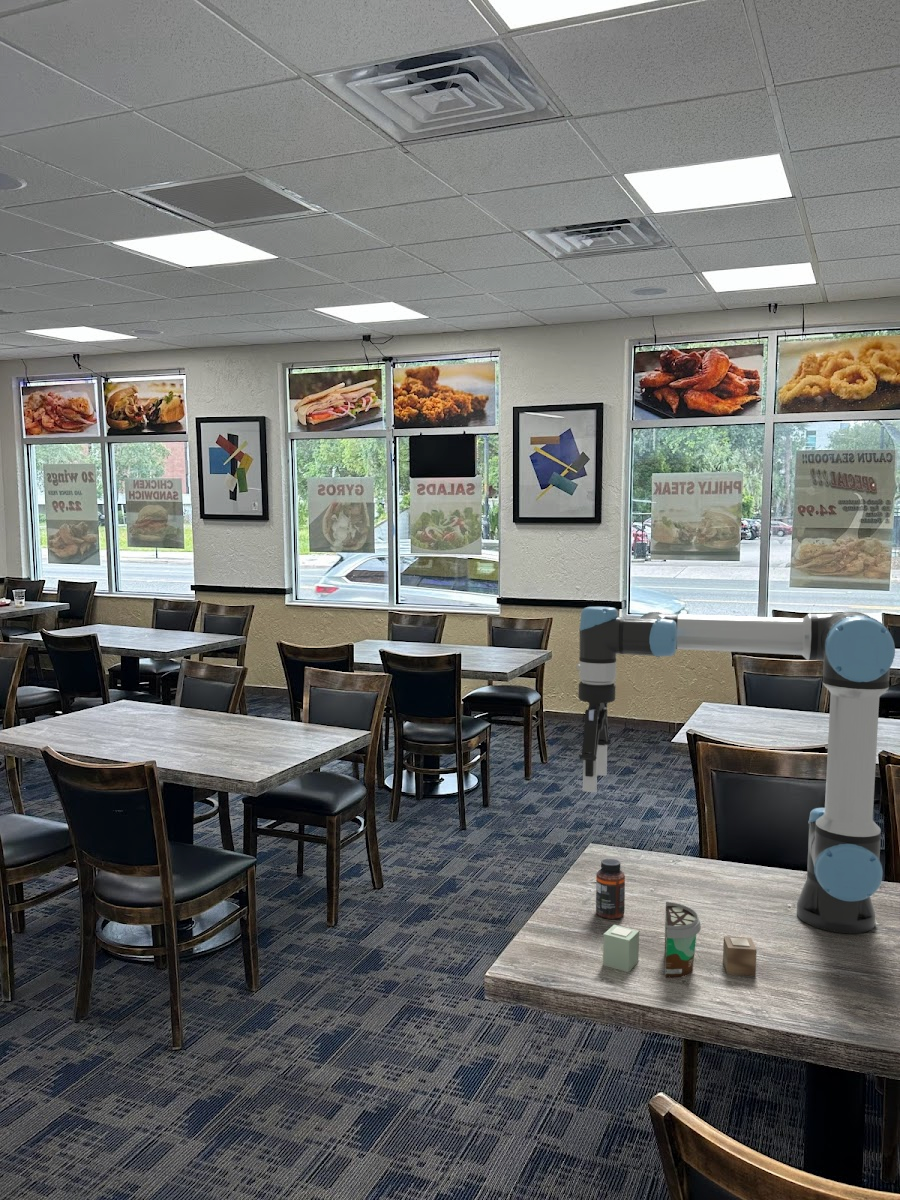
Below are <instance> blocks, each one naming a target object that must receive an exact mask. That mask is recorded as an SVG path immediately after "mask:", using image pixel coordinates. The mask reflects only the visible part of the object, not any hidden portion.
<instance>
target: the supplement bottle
mask: <svg viewBox="0 0 900 1200" xmlns="http://www.w3.org/2000/svg"><path fill="white" fill-rule="evenodd" d="M595 882H596V883H595V885H596V886H595V889H596V892H595V913H596V914H597V916H599V917H600V918H603V919H608V920H615V919H616V920H617V919H620V918H622V917H623V916H624V915H625V907H626V903H625V902H626V901H625V899H626V898H625V897H626V895H625V893H626V892H625V891H626V890H625V889H626V877H625V873H624V872H623V870H621V862H620V860H618V859H616V858H615V859H614V858H605V859H602V860H601V862H600V869H598V870H597V872H596V881H595Z"/></svg>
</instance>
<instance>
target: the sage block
mask: <svg viewBox="0 0 900 1200" xmlns="http://www.w3.org/2000/svg"><path fill="white" fill-rule="evenodd" d="M602 941H603V943H602V944H603V945H602V946H603V947H602V966H605V967H608V968H612V969H616V970H619V971H622V972H626V973H629V972H630V971H631V970H632V969H633V968H634V967H635V966H636V965H637V964H638V963H639V958H640V957H639V954H640V953H639V952H640V930H637V929H633V928H629V927H625V926H621V925H619V924H618V925H617V924H613V925H612V926H610V928H609V929H608V930H606V931H605V932H604V933H603V940H602Z"/></svg>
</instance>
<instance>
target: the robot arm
mask: <svg viewBox="0 0 900 1200" xmlns="http://www.w3.org/2000/svg"><path fill="white" fill-rule="evenodd" d="M578 631H579V657H578V659H579V660H578V661H579V664H577V665H576V666H575V667H576V669H577V670H579V671H578V673H579V674H578V679H579V681H580V682H579V683H578V700H579V701H581V702H584V703H588V708H587V709H585V711H584V714H585V715H584V729H583V739H582V746H581V747H582V749H581V750H582V751H581V754H579V757H578V759H579V760H581V761H582V792H584V793H585V792H588V793H597V792H598V791H597V788H598V787H597V785H598V776H603V777H606V776H607V774H608V773H607V771H608V769H607V767H608V745H611V742H612V739H610V734H609V722H608V721H609V720H608V704H609V703H613V702H614V701H615V700H616V683H614V682H615V681H616V680H617V655H634V656H646V657H647V656H648V657H656V658H660V657H672V656H674V655H675V654H676V653H677V652H676V651H677V650H690V651H706V652H707V651H709V652H730V653H755V654H771V655H772V654H774V655H791V656H792V655H793V656H795V655H796V656H802V657H803V658H804V659H805V660H807V661H819V662H823V664H822V665H823V666H822V667H823V668H822V669H823V670H822V685H823V686H824V687H825V688H826V689H827V691H829V693H830V697H829V719H828V737H827V741H828V742H827V759H826V760H827V761H826V777H825V798H824V800H825V801H824V807H815V808H813V809H812V810H811V811H810V812H809V819H808V844H807V845H808V846H807V847H808V848H807V849H808V851H807V866H806V867H807V869H806V870H807V871H806V879H805V883H804V884H803V887H802V889H801V892H800V894H799V897H798V899H797V903H796V916H797V917H798V919H800V920H801V921H802V922H804V923H805V924H808V925H810V926H811V927H814V928H817V929H821V930H824V931H828V932H834V933H838V934H839V933H840V934H862V933H866V932H869V931H872V930H873V929H874V928H875V926H876V925H875V924H876V912H875V908H874V906H873V902H872V898H871V896H873V895H874V894H875V893H876V892H877V891H878V889H879V888H880V887H881V884H882V880H883V875H884V872H883V871H884V870H883V865H882V863H881V861H880V856H881V855H880V852H881V850H880V849H881V833H882V832H881V831H882V830H881V827H880V826H879V825H878V824H877V823H876V822H875V821H874V803H875V800H874V798H875V784H876V783H875V781H876V763H877V745H878V729H879V727H878V725H879V712H880V711H879V709H880V708H879V707H880V698H881V696H882V695H883V694H884V693H885V692H887V691H888V690H889V688H890V687H889V686H890V672H891V671H890V670H891V666H892V664H893V663H894V659H895V655H896V647H895V646H896V645H895V641H894V638H893V636H892V634H891V632H890V630H889V629H888V628H887V627H886V626H885V625H884V624H883V623H882V622H880V621H879V620H877V619H876V618H873V617H871V616H869V615H867V614H864V613H862V612H857V611H844V612H833V613H832V612H831V613H807V614H806V615H805V616H804V617H802V618H799V617H772V616H742V615H741V616H738V615H735V616H734V615H714V614H713V615H709V614H686V613H685V614H684V613H683V614H681V613H680V614H679V613H678V614H677V613H676V614H675V613H662V612H659V611H654V612H653V611H650V612H648V613H645V614H643V615H642V616H641V617H639V618H637V617H631V618H630V617H629V618H628V617H620V616H619V614H618V610H617V608H616V607H610V606H587V607H584V608H582V609H581V612H580V622H579V630H578Z"/></svg>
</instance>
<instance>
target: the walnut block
mask: <svg viewBox="0 0 900 1200" xmlns="http://www.w3.org/2000/svg"><path fill="white" fill-rule="evenodd" d="M722 943H723V946H722V947H723V948H722V963H723V967H724V969H725V972H726V974H727V975H738V976H751V977H753V976H754V977H756V974H757V973H756V970H757V947H756V946H755V943H754V941H753V938H752V937H742V936H728V935H724V936H723V942H722Z"/></svg>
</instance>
